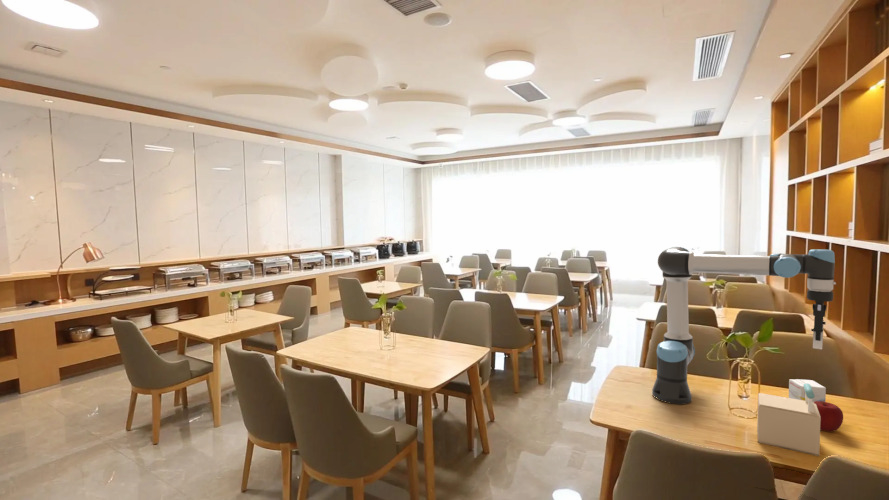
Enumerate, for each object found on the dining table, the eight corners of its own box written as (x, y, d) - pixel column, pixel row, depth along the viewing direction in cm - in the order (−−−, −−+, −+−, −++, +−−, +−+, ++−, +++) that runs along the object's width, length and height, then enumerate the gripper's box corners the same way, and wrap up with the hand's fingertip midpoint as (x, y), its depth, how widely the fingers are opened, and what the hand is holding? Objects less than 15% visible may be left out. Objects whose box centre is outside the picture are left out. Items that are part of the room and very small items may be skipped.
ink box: (825, 417, 164) (827, 387, 163) (800, 415, 166) (801, 386, 165) (811, 407, 172) (812, 379, 172) (787, 406, 174) (788, 378, 173)
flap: (759, 405, 146) (759, 385, 146) (758, 393, 155) (759, 375, 155) (818, 416, 137) (818, 395, 137) (813, 403, 146) (814, 383, 146)
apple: (831, 424, 158) (832, 398, 157) (849, 437, 149) (850, 409, 148) (802, 422, 160) (802, 396, 160) (818, 434, 151) (819, 407, 150)
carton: (757, 442, 147) (758, 405, 146) (757, 428, 156) (758, 393, 156) (819, 456, 137) (820, 417, 137) (814, 440, 147) (815, 403, 146)
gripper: (833, 295, 150) (831, 354, 152) (833, 286, 169) (830, 339, 170) (805, 293, 156) (803, 350, 157) (808, 285, 174) (806, 336, 175)
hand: (817, 344), depth 164 cm, fingers open, 13 cm apart
